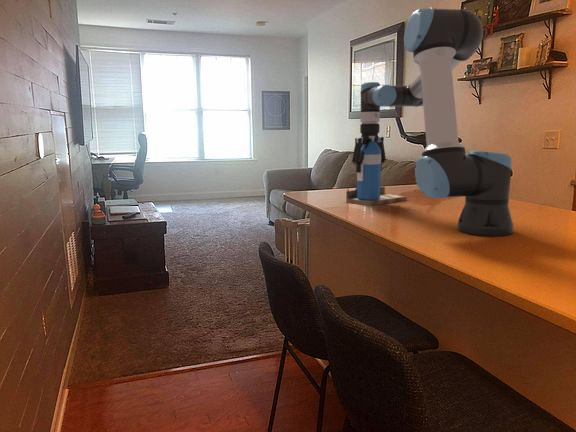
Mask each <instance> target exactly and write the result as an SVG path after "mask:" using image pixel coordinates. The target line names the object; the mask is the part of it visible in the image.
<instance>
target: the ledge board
mask: <svg viewBox="0 0 576 432" xmlns="http://www.w3.org/2000/svg"><path fill="white" fill-rule="evenodd" d="M385 190H386V187H385V186H380V198H379V199H375V200H364V199H358V198H357V187H355V188H354V190H347V191H345V192H346V193H345V194H346V195H345V196H346V197H345V198H346V203H350V204H356V205H361V206H367V207H371V206H378V205H384V204H391V203H397V202H398V201H399V202H405V201H407V200H408V199H407V198H408V197H407V196H406V195H405V196H404V195H403V196H402V195H396V194H389V193H386V191H385ZM404 200H405V201H404Z"/></svg>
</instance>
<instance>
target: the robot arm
mask: <svg viewBox="0 0 576 432" xmlns="http://www.w3.org/2000/svg"><path fill="white" fill-rule="evenodd" d="M483 38H484V27H483V23H482V21H481V19H480V18H479V17H478V15H477V14H476V13H474V12H473V11H471V10H469V9H456V8H455V9H453V8H452V9H451V8H434V7H428V8H427V7H426V8H425V7H421V8H418V9H416V10H415V11H413V13H412V14H411V15H410V17H409V19H408V21H407V23H406V26H405V29H404V35H403V46H404V49H405V50H406V52H409V53H412V54H413V55H412V56H413V62H414V63H415V64H417V65H419V66H418V67H419V73H418V74H417V76H416V77H414V79H413V80H412V81H411V82H410V83H409V84H408V85H390V84H380V82H378V81H377V82H375V81H374V82H373V81H369V82H363V83H361V85H360V93H359V94H360V117H359V118H360V126H359V127H360V128H359V130H360V131H359V132H360V134H361V136H360V137H355V138H354V140H355V141H354V143H355V144H354V149H353V150H354V151H353V154H352V159H351V162H352V163H353V164H354V165H355V171H356V172H355V173H356V182H357V181H363V164H362V161H363V159H364V152H363V153H361V152H360V151H361V148H362V145H363V144H367V145H366V146H365V148H367V147H368V145H369V143H370V142H372V138H369V136H375V138H374V141H375V142H376V143H377V144H378V146H379V147H380V149H381V171H383V168H382V167H383V165H382V164H384V163H385V162H386V161H387V159H386V151H385V144H384V139H385V137H383V136H379V135H378V134H379V133H380V123H379V122H381V121H380V119H381V118H380V116H381V107H382V108H383V107H384V108H385V107H389V108H390V107H414V108H415V107H416V108H418V107H423V118H424V119H423V120H424V131H425V141H426V142H425V143H426V147H425V148H424V149H423V150H422V152H421V157H419V158H418V160H417V161H416V164H415V168H414V174H415V175H414V177H415V182H416V184H417V187H418V189H419V191H420V192H421V193H422V194H423V195H424V196H425V197H427V198H431V199H433V198H434V199H446V198H458V197H459V198H461V197H465V198H464V199H465V200H464V201H465V202H464V206H463V208H462V210H461V212H460V216H459V217H458V219H457V230H458V231H459V232H463V233H466V234H470V235H471V234H472V235H475V236H486V237H489V236H490V237H493V236H494V237H497V236H498V237H501V236H509V235H511V234H514V223H513V222H514V221H513V218H512V215H511V212H510V207H509V203H510V201H509V200H510V191H511V190H510V187H511V179H512V177H511V176H512V171H513V168H512V157H511V156H510V155H509V154H508V153H503V152H502V153H499V152H494V151H493V152H491V151H484V150H469V151H468V153H466V148H465V146H464V145H463V144H462V143H460V142H459V133H458V123H457V121H458V120H457V113H456V111H457V110H456V101H455V100H456V99H455V98H456V97H455V91H454V90H455V89H454V78H453V77H454V76H453V70H454V69H455V68H457V66H458V65H460V63H461V62H465V61H468V60H469V59H470V58H471V57H472V56H473V55H474V54H475V53H476V52H477V51H478V49H479V47H480V46H481V43H482V41H483Z"/></svg>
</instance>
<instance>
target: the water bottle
mask: <svg viewBox="0 0 576 432" xmlns="http://www.w3.org/2000/svg"><path fill="white" fill-rule="evenodd" d="M369 138H372V142H370V143H369V145H368V147H367V148H365V146H366V145H367V144H363V145H362V148H361V151H360V152H361V153H363V152H364V159H363V161H362V164H363V181H357V180H356V188H357V198H358V199H364V200H375V199H379V198H380V187H382V186H381V185H382V184H381V183H382V182H381V178H382V170H381V149H380V147H379V146H378V144H377V143H376V142H375V141H374V138H375V136H369Z"/></svg>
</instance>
